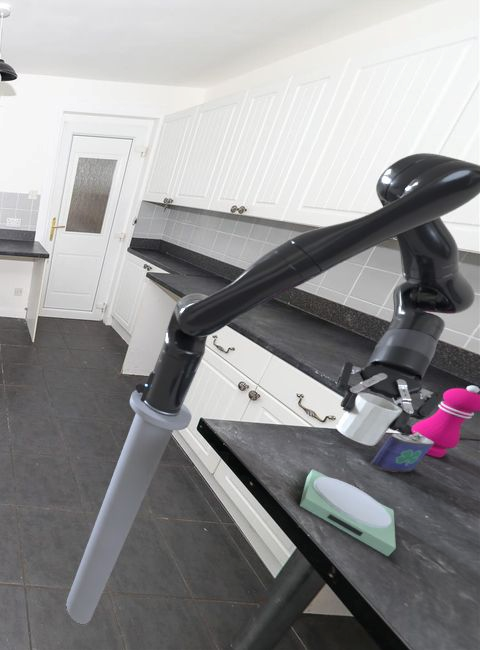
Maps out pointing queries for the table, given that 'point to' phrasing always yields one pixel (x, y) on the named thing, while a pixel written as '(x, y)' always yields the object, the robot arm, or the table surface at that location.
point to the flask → (402, 452)
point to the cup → (368, 419)
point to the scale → (350, 511)
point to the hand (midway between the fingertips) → (369, 418)
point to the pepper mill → (449, 419)
